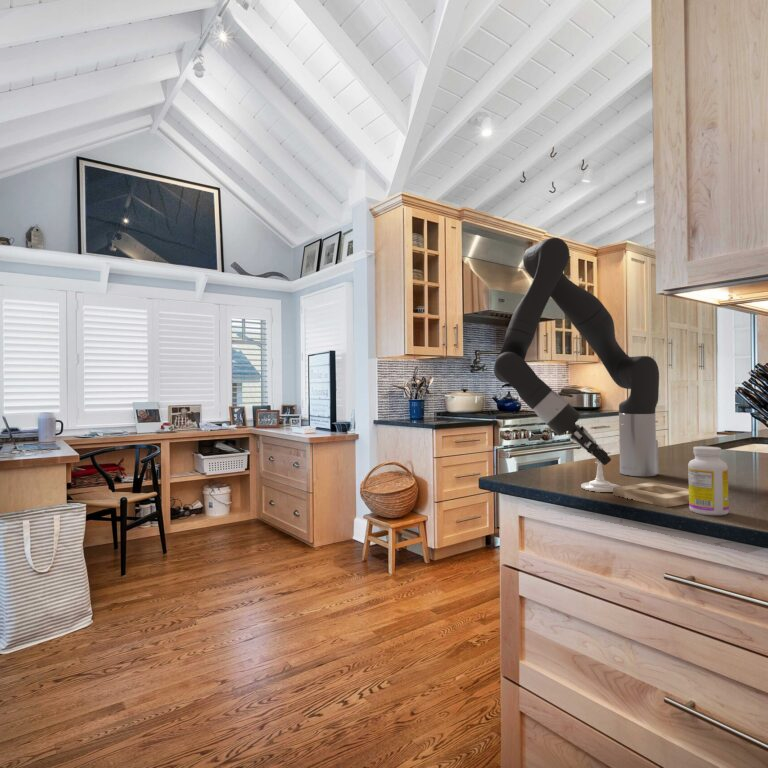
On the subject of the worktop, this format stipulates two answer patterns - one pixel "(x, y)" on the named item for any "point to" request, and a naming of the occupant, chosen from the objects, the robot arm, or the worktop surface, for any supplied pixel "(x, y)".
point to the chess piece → (599, 476)
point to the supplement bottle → (708, 482)
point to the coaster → (598, 489)
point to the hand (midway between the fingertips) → (606, 460)
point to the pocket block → (654, 494)
